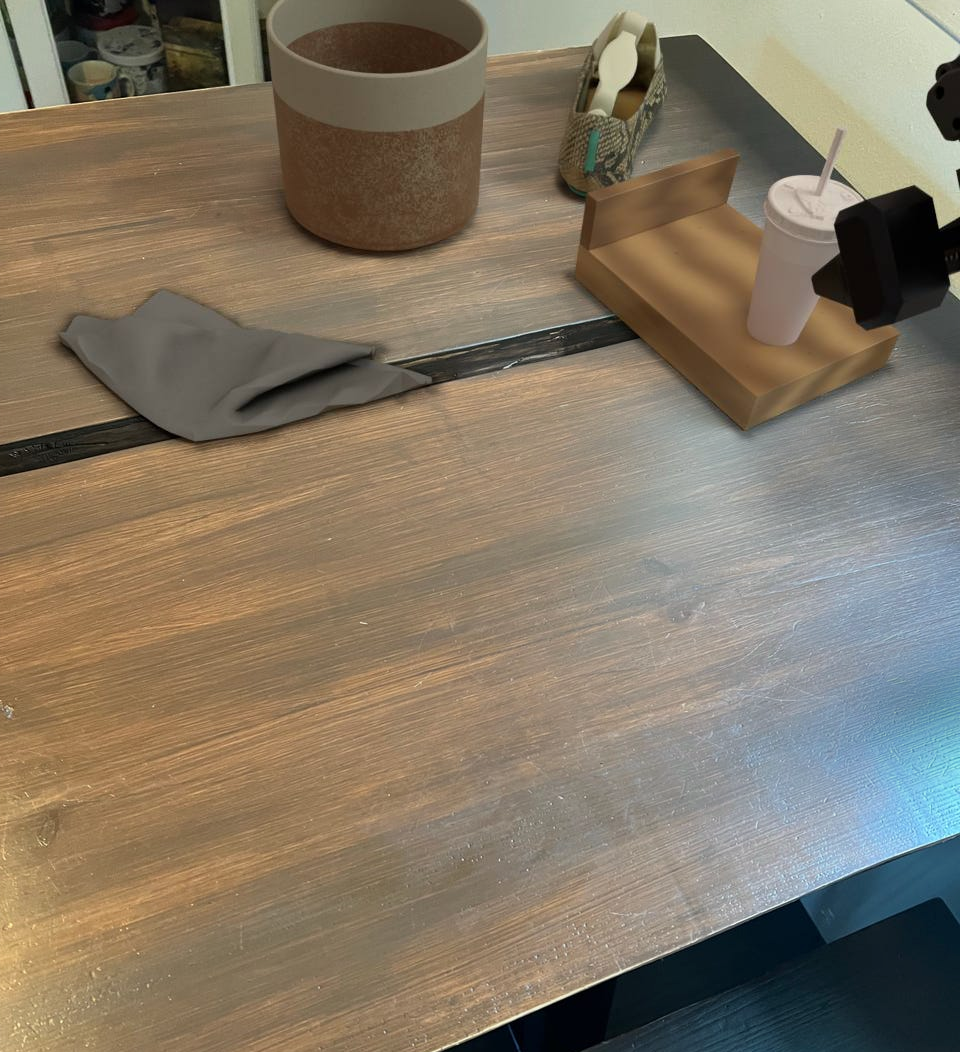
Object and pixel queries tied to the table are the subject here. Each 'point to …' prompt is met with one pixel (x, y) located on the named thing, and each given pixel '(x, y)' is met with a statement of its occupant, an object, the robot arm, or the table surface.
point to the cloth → (225, 369)
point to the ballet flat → (613, 104)
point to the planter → (379, 117)
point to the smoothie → (796, 249)
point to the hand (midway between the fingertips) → (871, 265)
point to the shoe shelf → (712, 292)
